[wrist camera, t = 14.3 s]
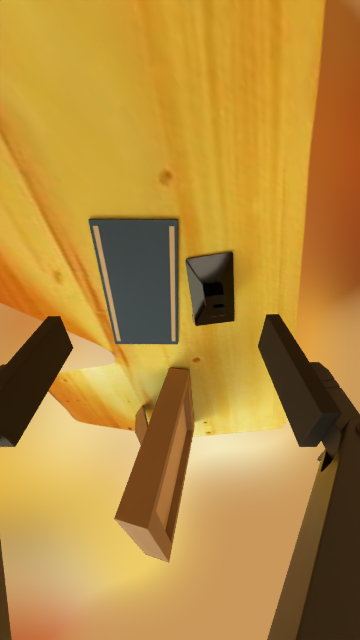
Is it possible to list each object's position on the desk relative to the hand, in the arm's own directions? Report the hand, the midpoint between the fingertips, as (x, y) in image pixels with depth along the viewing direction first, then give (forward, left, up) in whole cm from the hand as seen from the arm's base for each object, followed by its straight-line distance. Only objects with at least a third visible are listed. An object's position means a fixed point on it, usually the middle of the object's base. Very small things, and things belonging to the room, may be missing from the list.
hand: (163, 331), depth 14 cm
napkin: (+8, -5, -21) cm, 23 cm away
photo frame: (+37, -3, -21) cm, 42 cm away
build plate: (+8, +6, -21) cm, 23 cm away
